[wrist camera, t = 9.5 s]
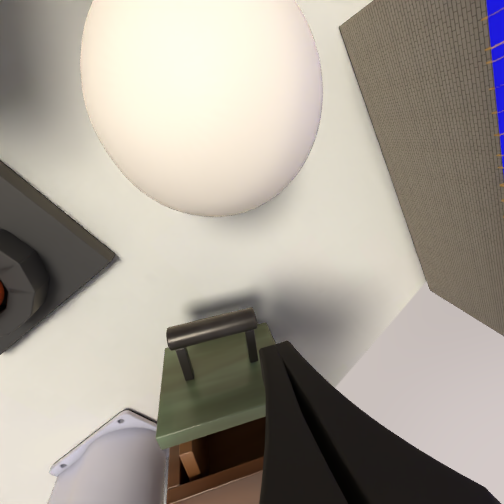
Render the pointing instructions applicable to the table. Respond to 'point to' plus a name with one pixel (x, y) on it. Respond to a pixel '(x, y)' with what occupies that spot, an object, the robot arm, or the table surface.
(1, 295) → the button
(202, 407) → the drawer
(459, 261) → the house
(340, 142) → the table surface
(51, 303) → the button box
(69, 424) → the table surface
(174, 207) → the figurine
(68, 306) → the table surface
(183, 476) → the cabinet
